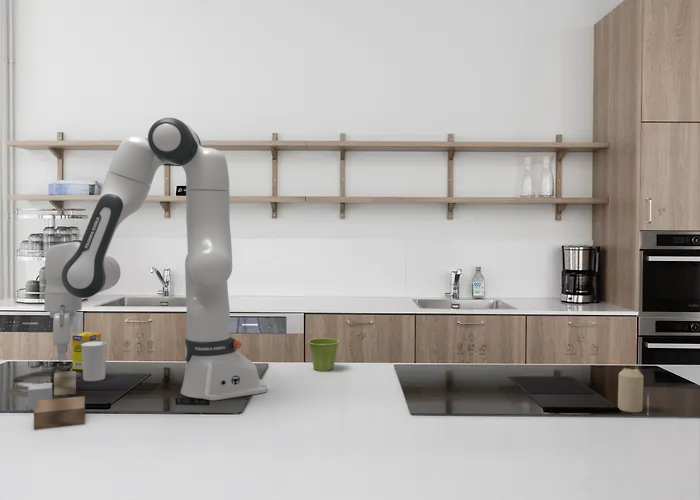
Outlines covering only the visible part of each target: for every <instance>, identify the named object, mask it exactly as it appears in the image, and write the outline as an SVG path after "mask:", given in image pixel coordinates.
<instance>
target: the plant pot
mask: <svg viewBox="0 0 700 500" xmlns="http://www.w3.org/2000/svg"><path fill="white" fill-rule="evenodd" d="M307 342H308V344H309V348H310V351H311V358H312V365H313V366H312V367H313V370H314V371H315V370H316V371H317V372H328V371H332V370H334V369H335V368H334V367H335V359H336V353H337V348H338V345H339V344H340V341H339V339H335V338H327V337H324V338H323V337H322V338H320V337H319V338H312V339H309V340H308V341H307Z"/></svg>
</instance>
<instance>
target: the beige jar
mask: <svg viewBox="0 0 700 500" xmlns="http://www.w3.org/2000/svg"><path fill="white" fill-rule="evenodd" d="M617 384H618V389H617V409H618V408H619V409H618V410H620V411H623V412H627V413H642V412H643V406H644V405H643V404H644V403H643V402H644V375H643V374H642V372H641V371H640V369H639V368H638V369H637V368H635V369H632V368H626V367H624V368H623V369H622V370H621V371H619V373H618V383H617Z"/></svg>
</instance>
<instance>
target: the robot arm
mask: <svg viewBox="0 0 700 500" xmlns="http://www.w3.org/2000/svg"><path fill="white" fill-rule="evenodd" d="M161 166H165V167H181V168H182V169H183V171H184V172H185V178H186V179H185V180H186V183H185V184H186V185H185V186H186V187H185V189H186V191H185V193H186V194H185V197H186V199H185V202H186V203H185V205H186V206H185V207H186V209H185V212H186V213H185V215H186V217H185V220H186V221H185V222H186V223H185V224H186V239H187V241H186V242H187V243H186V244H187V254H186V256H185V261H184V270H185V271H184V272H185V276H184V277H185V298H186V299H185V301H186V338H185V339H184V340H185V341H184V358H185V369H184V376H183V381H182V386H181V389H180V394H181V395H183V396H184V397H188V398H193V399H203V400H208V401H218V400H227V399H232V398H239V397H244V396H250V395H257V394H263V393H266V392H267V391H268V384H267V383H266V382H265V381H264V380H262V379H261V378H260V377H259V371H258V368H257V366H256V365H255V363H254V362H253V361H251V360H250V359H249V358H248V357H246V356H245V355H243V354H242V353H241V352H239V351H237V350H239V349H241V347H242V345H243V344H242V342H241V341H240V340H239V339H236V338H233V337H231V336H230V331H231V330H230V329H231V328H230V327H231V326H230V322H231V321H230V317H231V316H230V313H231V312H230V311H231V310H230V309H231V308H230V301H229V289H228V288H229V287H228V281H229V279H230V277H231V275H232V273H233V249H232V247H233V246H232V234H231V224H230V223H231V222H230V217H231V215H230V209H231V208H230V196H231V195H230V177H229V169H228V163H227V159H226V156H225V154H224V153H223V152H221V151H220V150H218V149H215V148H213V147H212V148H211V147H204V146H202V143H201V140H200V137H199V136H198V134H197V133H196V132H195V131H194V130H193V128H192V127H191V126H190V125H189V124H187V123H185V122H183V120H182V121H181V119H178V118H174V117H164V118H160V119H158V120H157V121H156V122H154V123H153V124H152V125H151V127H150V128H149V130H148V134H147V137H143V136H139V135H129V136H126V137H125V138H123V140H122V141H121V142H120V144H119V146H118V147H117V148H116V151H115V153H114V155H113V157H112V160H111V162H110V165H109V167H108V171H107V173H106V176H105V179H104V181H103V186H102V189H101V191H100V194H99V197H98V200H97V202H96V206H95V208H94V210H93V212H92V215H91V217H90V219H89V221H88V224H87V227H86V229H85V231H84V233H83V237H82V238H81V241H78V240H77V241H76V240H68V241H61V242H60V241H59V242H55V243H52V244H51V245H49V246H48V247H47V250H46V254H45V261H44V278H45V283H46V284H45V289H44V296H43V297H44V300H43V301H44V307H43V308H44V311H45V312H47V313H48V312H49V318H53V325H52V343H53V345H54V346H56V350H57V360H58V361H66V359H67V353H68V346H69V345H70V340H71V335H72V330H73V325H74V318H75V317H76V316H77V311H81V310H82V308H83V305H82V304H83V302H82V301H83V299H85V298H86V299H87V298H90V297H93V296H94V295H97V294H98V293H102V292H105V291H107V290H109V289H111V288H113V287H114V286H115V285H116V284H118V282H119V280H120V277H121V267H120V265H119V263H118V261H117V260H116V259H115V258H113V257H111V256H109V255H107V253H108V250H109V247H110V245H111V243H112V241H113V237H114V235H115V232H116V231H117V229H118V227H119V226H120V224H121V223H122V222H123V221H125V219H127V218H128V217H129V216H131V215H133V214H134V213H136V212H137V211H139V210H140V209H141V207H142V206H143V204H144V203H145V201H146V199H147V197H148V194H149V192H150V189H151V186H152V184H153V180H154V177H155V174H156V172H157V170H158V169H159V168H160V167H161Z"/></svg>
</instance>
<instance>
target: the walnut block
mask: <svg viewBox="0 0 700 500" xmlns="http://www.w3.org/2000/svg"><path fill="white" fill-rule="evenodd" d="M85 415H86V396H85V395H82V396H72V397H70V396H69V397H62V398H53V399H47V400H38V401H37V404H36V407H35V410H33V430H43V429H44V430H45V429H51V428H60V427H61V428H62V427H71V426H80V425H81V426H82V425H85V420H86V418H85V417H86V416H85Z"/></svg>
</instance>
